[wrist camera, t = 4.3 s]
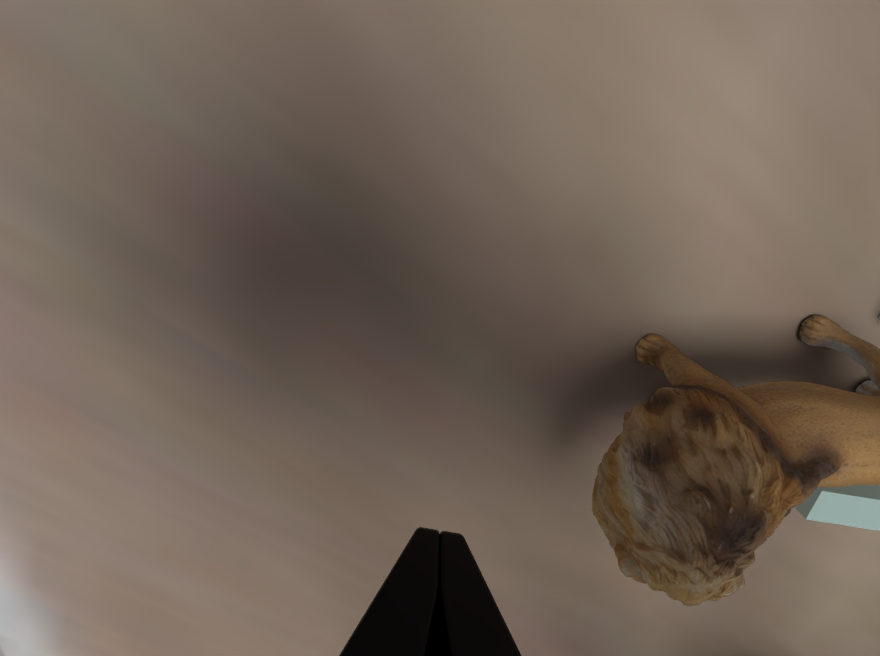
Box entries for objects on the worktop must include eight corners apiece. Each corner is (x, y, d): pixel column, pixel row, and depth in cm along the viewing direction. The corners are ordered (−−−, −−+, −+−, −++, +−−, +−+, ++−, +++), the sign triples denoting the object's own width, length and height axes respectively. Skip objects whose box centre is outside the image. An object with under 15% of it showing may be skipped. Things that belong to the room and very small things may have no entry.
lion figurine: (566, 457, 21) (633, 665, 13) (545, 349, 19) (609, 514, 11) (933, 390, 19) (1288, 586, 11) (950, 264, 18) (1394, 386, 9)
